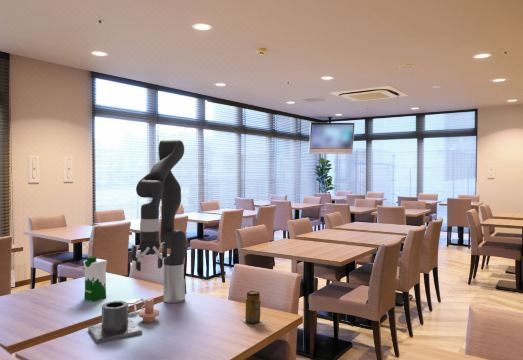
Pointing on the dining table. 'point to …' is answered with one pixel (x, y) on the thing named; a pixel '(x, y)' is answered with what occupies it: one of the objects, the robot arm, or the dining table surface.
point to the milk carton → (95, 278)
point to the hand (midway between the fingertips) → (149, 269)
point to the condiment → (253, 309)
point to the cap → (149, 312)
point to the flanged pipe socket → (114, 323)
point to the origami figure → (134, 301)
